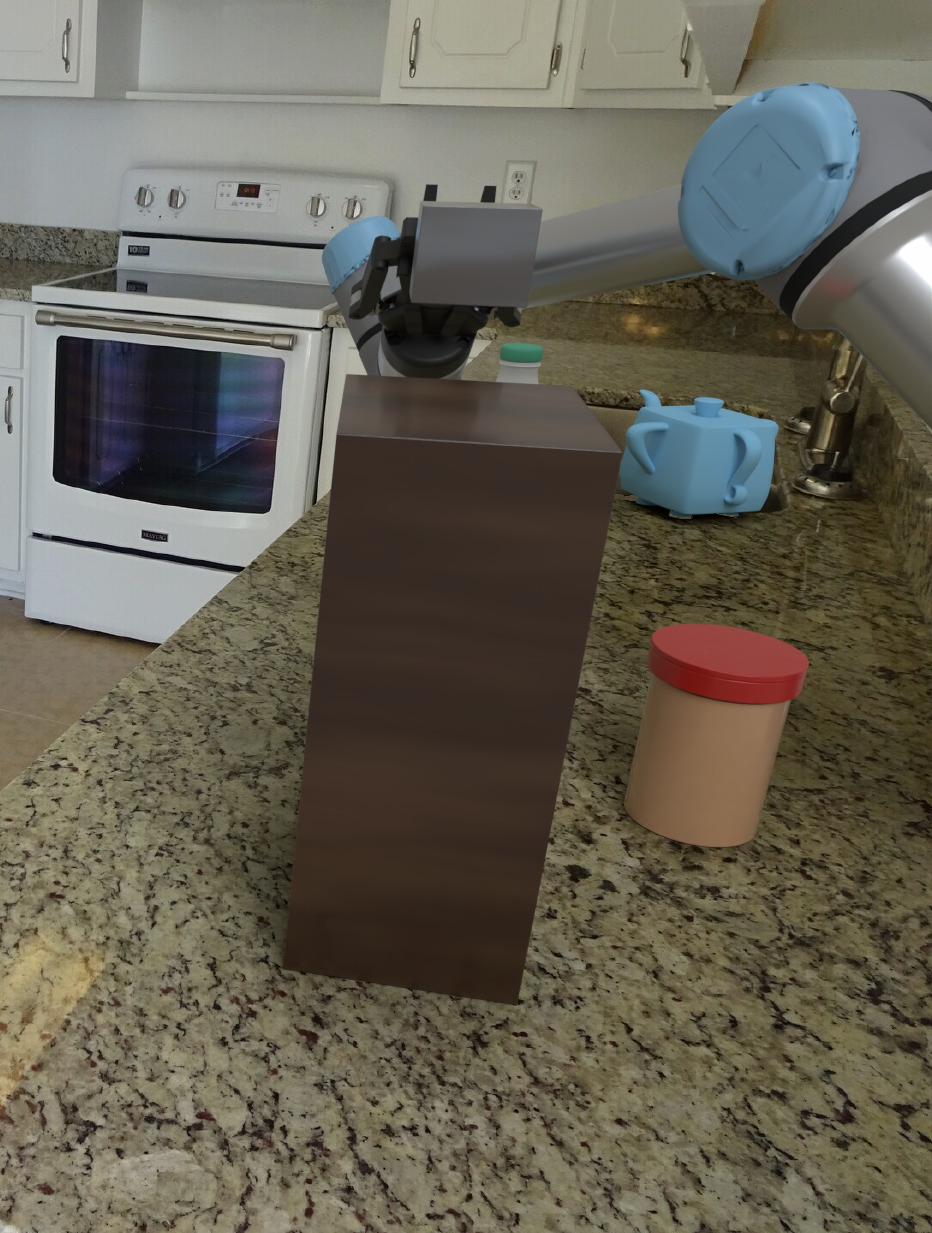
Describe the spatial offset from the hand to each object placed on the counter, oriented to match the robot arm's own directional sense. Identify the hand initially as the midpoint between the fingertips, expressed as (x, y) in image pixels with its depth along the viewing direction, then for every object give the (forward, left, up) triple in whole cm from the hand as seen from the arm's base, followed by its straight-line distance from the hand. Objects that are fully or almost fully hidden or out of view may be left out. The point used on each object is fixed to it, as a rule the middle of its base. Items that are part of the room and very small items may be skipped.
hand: (459, 204), depth 83 cm
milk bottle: (-2, -62, -38) cm, 73 cm away
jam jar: (-21, +8, -37) cm, 43 cm away
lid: (-21, +8, -26) cm, 34 cm away
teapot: (-22, -77, -38) cm, 88 cm away
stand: (-5, +27, -37) cm, 46 cm away
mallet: (-1, +5, -4) cm, 6 cm away
